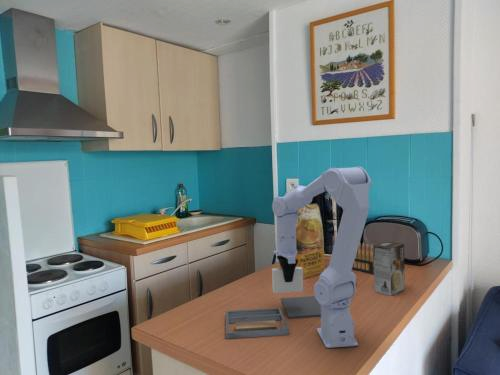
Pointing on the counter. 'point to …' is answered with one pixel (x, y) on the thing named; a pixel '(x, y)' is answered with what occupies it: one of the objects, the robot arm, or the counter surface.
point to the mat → (302, 307)
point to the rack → (256, 316)
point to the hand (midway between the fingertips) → (287, 280)
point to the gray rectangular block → (285, 287)
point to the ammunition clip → (364, 259)
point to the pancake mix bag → (310, 241)
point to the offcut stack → (255, 325)
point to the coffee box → (389, 268)
